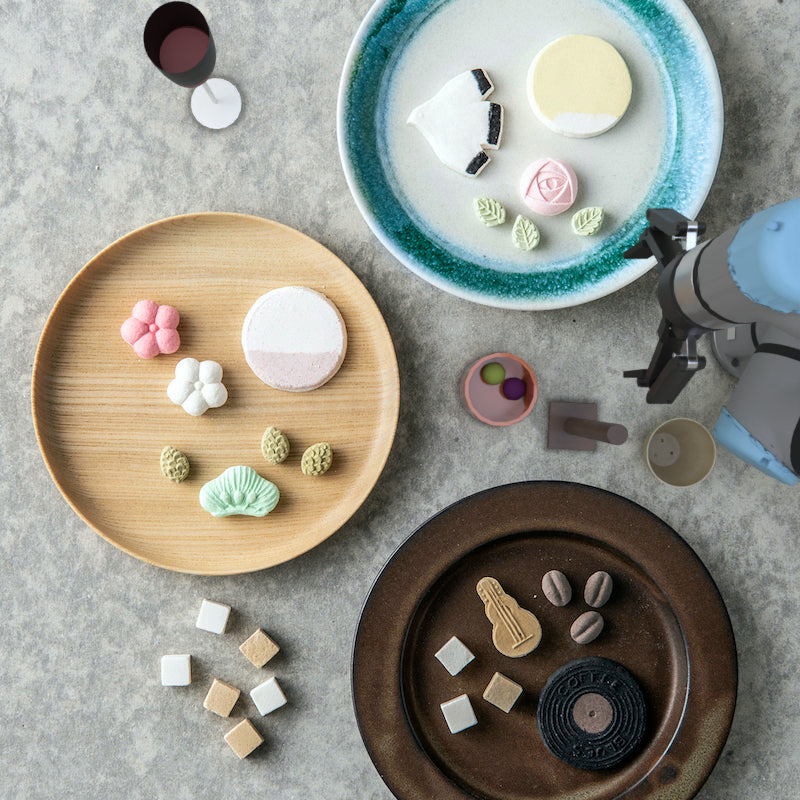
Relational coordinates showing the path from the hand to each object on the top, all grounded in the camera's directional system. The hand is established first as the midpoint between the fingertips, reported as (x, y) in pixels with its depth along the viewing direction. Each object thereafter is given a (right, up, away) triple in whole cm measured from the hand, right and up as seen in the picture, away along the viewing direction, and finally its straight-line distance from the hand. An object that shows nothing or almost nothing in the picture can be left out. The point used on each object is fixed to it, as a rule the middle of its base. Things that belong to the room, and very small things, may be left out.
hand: (635, 315), depth 82 cm
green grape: (-13, -6, +24) cm, 28 cm away
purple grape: (-10, -8, +24) cm, 27 cm away
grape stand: (-1, -14, +26) cm, 29 cm away
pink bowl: (-13, -8, +26) cm, 30 cm away
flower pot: (+13, -17, +27) cm, 34 cm away
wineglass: (-54, +34, +25) cm, 69 cm away
